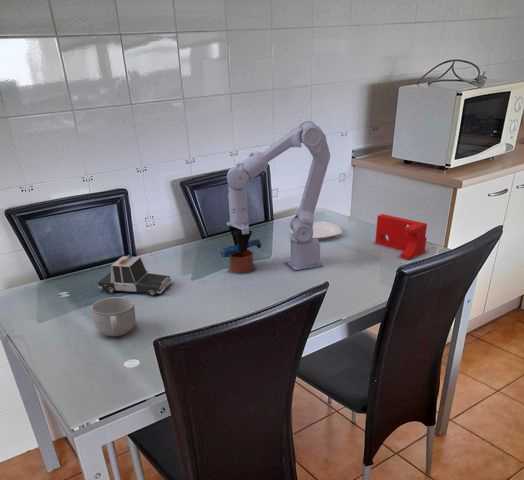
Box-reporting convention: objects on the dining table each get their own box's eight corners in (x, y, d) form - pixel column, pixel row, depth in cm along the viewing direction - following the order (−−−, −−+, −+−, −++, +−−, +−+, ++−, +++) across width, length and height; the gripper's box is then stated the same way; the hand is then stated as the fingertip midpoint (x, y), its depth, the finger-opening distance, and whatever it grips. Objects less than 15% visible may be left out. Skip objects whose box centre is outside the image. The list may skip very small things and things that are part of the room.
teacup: (101, 322, 138) (95, 296, 134) (141, 320, 139) (136, 293, 135) (91, 348, 127) (84, 320, 122) (134, 345, 127) (129, 317, 123)
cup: (249, 263, 172) (248, 247, 170) (256, 271, 166) (255, 255, 163) (227, 266, 170) (226, 251, 168) (234, 274, 164) (232, 258, 161)
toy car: (160, 297, 151) (155, 265, 146) (98, 293, 156) (91, 262, 150) (172, 283, 160) (168, 253, 155) (113, 280, 164) (107, 251, 159)
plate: (284, 229, 202) (284, 224, 201) (330, 224, 205) (330, 219, 204) (299, 244, 186) (299, 239, 185) (348, 239, 189) (348, 233, 188)
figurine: (256, 248, 171) (219, 260, 164) (254, 237, 170) (216, 249, 163) (264, 247, 167) (227, 260, 160) (261, 236, 166) (223, 248, 159)
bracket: (428, 222, 170) (412, 230, 164) (424, 251, 176) (408, 259, 170) (383, 213, 182) (367, 219, 176) (381, 240, 187) (365, 247, 181)
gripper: (220, 203, 162) (223, 243, 170) (232, 215, 151) (235, 258, 158) (241, 201, 164) (243, 241, 171) (254, 212, 152) (256, 255, 160)
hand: (240, 249), depth 165 cm, fingers closed on figurine, 5 cm apart
